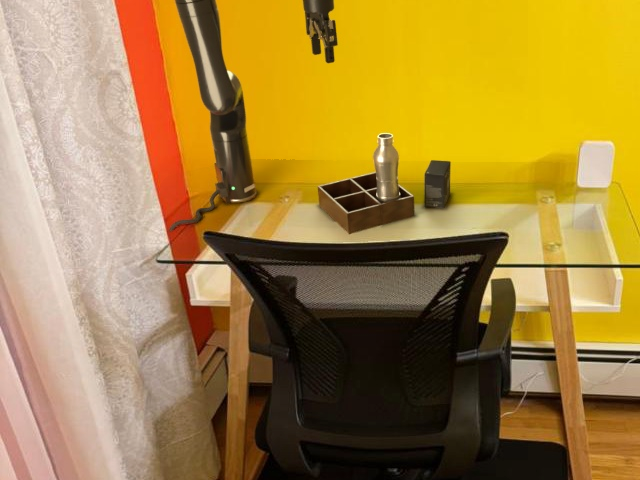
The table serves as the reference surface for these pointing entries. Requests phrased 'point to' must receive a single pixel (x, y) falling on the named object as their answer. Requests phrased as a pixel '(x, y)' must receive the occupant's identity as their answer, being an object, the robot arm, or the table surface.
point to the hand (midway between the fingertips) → (323, 58)
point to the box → (437, 184)
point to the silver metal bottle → (386, 169)
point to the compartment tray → (362, 203)
